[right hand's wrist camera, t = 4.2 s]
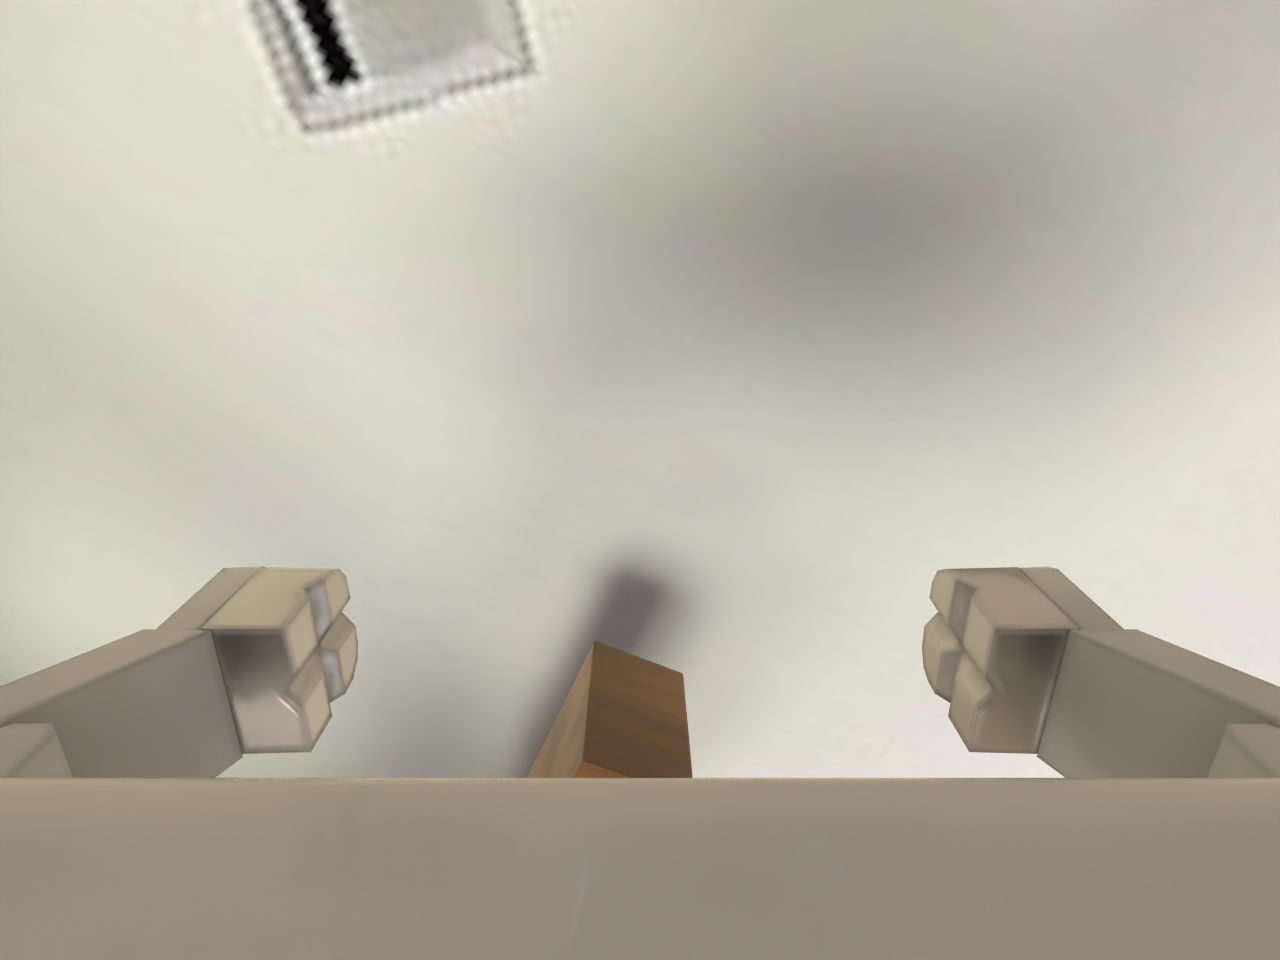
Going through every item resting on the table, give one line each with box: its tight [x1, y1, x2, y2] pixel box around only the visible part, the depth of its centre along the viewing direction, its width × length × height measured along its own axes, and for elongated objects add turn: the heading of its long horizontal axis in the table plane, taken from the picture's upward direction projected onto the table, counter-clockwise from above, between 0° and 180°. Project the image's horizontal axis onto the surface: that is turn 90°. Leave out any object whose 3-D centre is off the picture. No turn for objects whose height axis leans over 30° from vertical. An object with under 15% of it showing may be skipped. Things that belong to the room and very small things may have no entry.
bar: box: [527, 641, 693, 778], centre depth 36 cm, size 23×5×8 cm, turn 156°
